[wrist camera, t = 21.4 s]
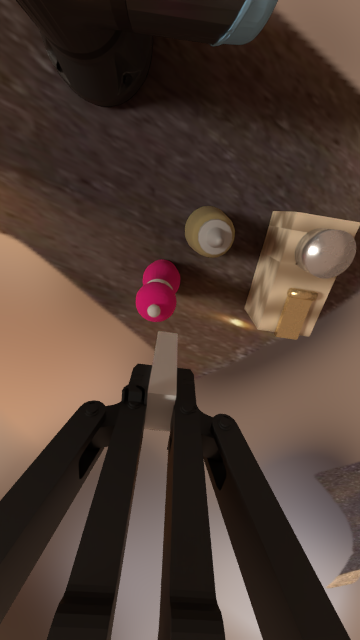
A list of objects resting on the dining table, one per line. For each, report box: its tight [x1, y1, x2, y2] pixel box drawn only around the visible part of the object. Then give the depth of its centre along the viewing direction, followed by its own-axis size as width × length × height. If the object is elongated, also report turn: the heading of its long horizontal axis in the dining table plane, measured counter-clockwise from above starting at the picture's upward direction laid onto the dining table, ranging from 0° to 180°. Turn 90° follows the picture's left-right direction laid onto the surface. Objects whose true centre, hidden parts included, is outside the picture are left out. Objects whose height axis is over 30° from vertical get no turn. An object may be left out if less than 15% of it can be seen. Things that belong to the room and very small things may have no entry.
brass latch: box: [274, 288, 318, 339], centre depth 40 cm, size 9×4×2 cm, turn 172°
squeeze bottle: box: [185, 206, 235, 258], centre depth 37 cm, size 8×8×18 cm
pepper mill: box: [136, 259, 180, 322], centre depth 40 cm, size 7×7×20 cm
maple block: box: [245, 211, 360, 336], centre depth 43 cm, size 20×10×10 cm, turn 172°
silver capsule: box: [295, 228, 356, 279], centre depth 39 cm, size 7×7×12 cm
